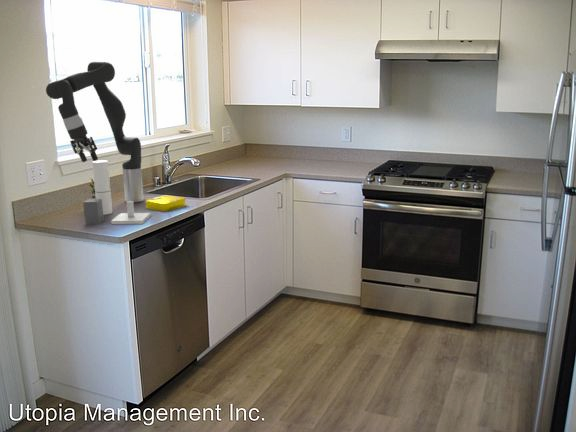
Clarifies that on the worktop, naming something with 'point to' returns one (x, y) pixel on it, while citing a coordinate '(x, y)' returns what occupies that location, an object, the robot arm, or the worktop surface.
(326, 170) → the worktop surface
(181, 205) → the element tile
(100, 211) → the tall grey pillar
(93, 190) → the house plant
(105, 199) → the cylindrical container
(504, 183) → the worktop surface
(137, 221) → the stud plate
